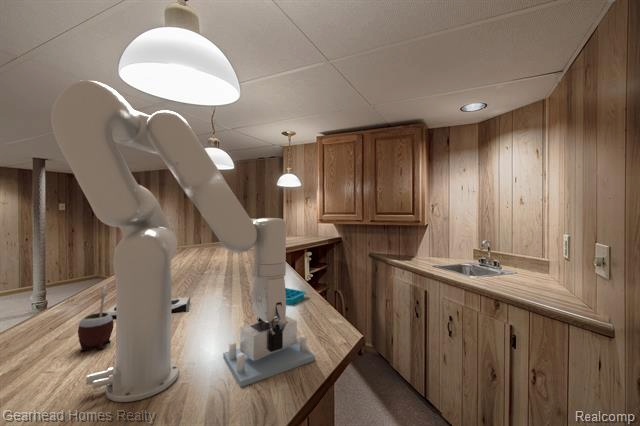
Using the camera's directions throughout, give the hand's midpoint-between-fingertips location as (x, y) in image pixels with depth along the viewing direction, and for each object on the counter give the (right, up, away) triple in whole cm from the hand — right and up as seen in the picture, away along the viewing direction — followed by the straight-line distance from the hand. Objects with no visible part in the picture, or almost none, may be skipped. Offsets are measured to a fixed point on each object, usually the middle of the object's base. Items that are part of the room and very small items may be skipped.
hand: (269, 342), depth 65 cm
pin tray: (0, -4, 0) cm, 4 cm away
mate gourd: (-46, -4, +5) cm, 46 cm away
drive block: (0, -1, 0) cm, 1 cm away
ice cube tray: (-4, -4, +46) cm, 46 cm away
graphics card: (-47, -4, +30) cm, 56 cm away
